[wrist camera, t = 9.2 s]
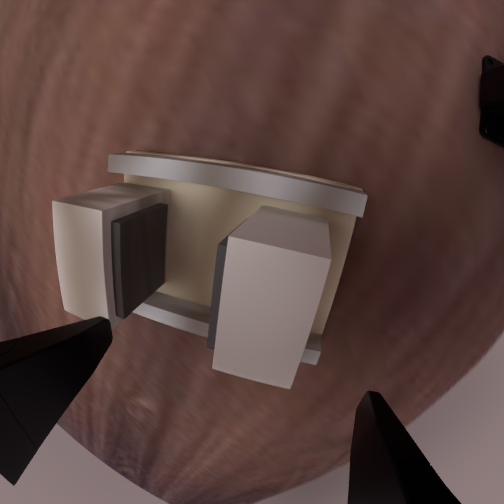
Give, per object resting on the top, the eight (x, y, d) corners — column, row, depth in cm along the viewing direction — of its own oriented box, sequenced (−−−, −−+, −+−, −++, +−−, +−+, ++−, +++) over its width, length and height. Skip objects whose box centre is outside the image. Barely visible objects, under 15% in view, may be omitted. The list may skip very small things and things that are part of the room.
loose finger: (327, 218, 17) (331, 259, 11) (302, 317, 20) (289, 389, 13) (253, 202, 18) (213, 232, 11) (237, 301, 20) (201, 364, 14)
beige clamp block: (360, 187, 17) (389, 212, 10) (317, 339, 21) (309, 422, 14) (135, 150, 20) (52, 158, 12) (132, 288, 24) (70, 337, 16)
